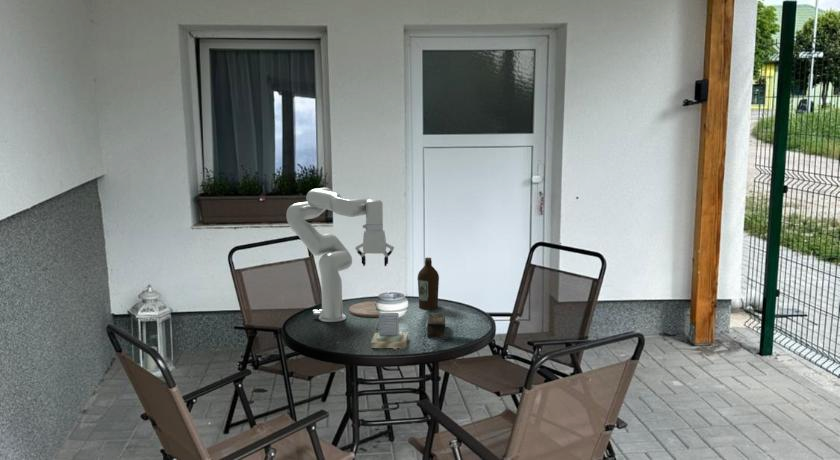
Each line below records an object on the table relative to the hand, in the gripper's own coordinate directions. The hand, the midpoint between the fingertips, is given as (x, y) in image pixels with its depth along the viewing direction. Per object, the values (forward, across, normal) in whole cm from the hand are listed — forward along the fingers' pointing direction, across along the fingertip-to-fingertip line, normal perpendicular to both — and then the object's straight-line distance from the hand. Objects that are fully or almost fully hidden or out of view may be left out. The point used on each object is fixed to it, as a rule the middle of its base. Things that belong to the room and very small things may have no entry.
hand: (374, 265), depth 328 cm
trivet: (+29, -4, +28) cm, 40 cm away
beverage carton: (+29, +28, -6) cm, 40 cm away
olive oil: (+28, +22, +36) cm, 51 cm away
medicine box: (+24, +9, -25) cm, 36 cm away
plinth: (+28, +9, -25) cm, 39 cm away
